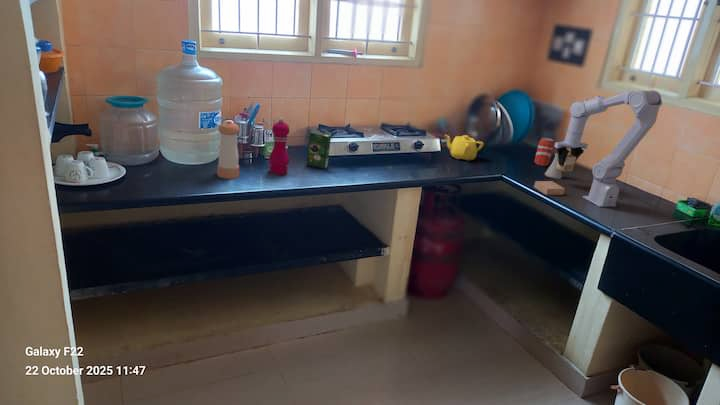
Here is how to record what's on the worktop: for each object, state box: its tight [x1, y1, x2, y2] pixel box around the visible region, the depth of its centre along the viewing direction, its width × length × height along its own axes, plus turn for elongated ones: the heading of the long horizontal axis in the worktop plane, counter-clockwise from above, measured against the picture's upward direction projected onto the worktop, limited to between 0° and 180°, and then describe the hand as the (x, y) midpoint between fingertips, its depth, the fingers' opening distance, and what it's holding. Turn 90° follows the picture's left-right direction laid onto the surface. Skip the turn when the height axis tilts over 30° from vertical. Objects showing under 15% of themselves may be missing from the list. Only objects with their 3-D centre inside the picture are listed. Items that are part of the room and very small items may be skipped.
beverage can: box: [533, 137, 555, 167], centre depth 233 cm, size 6×6×12 cm
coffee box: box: [306, 130, 332, 170], centre depth 195 cm, size 8×3×13 cm, turn 71°
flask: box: [544, 152, 563, 180], centre depth 219 cm, size 7×7×10 cm
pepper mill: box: [268, 117, 290, 176], centre depth 184 cm, size 7×7×20 cm
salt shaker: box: [216, 120, 241, 180], centre depth 175 cm, size 7×7×19 cm
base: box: [533, 180, 566, 196], centre depth 202 cm, size 8×8×2 cm
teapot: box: [444, 134, 485, 162], centre depth 229 cm, size 14×13×10 cm
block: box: [556, 153, 577, 172], centre depth 208 cm, size 4×4×6 cm
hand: (565, 165), depth 208 cm, fingers closed on block, 4 cm apart
